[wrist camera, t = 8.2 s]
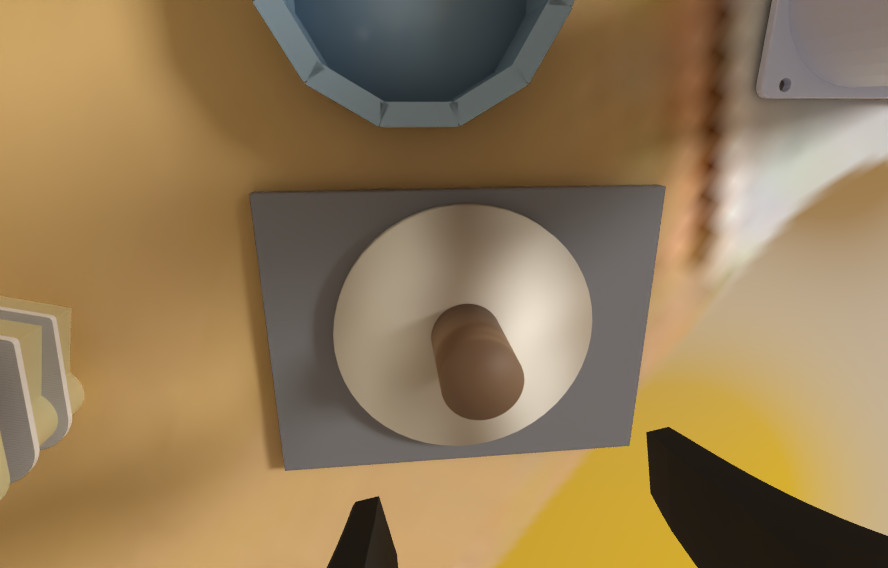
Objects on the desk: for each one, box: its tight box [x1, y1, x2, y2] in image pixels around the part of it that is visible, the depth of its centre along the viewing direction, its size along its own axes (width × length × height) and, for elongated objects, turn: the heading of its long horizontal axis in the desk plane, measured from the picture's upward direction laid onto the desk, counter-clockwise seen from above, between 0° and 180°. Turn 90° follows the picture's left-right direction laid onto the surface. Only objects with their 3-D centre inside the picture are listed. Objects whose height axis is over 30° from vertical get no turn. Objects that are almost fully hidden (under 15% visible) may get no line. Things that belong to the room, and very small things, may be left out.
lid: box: [333, 203, 592, 446], centre depth 20 cm, size 11×11×5 cm
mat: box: [249, 185, 666, 471], centre depth 22 cm, size 17×13×1 cm
